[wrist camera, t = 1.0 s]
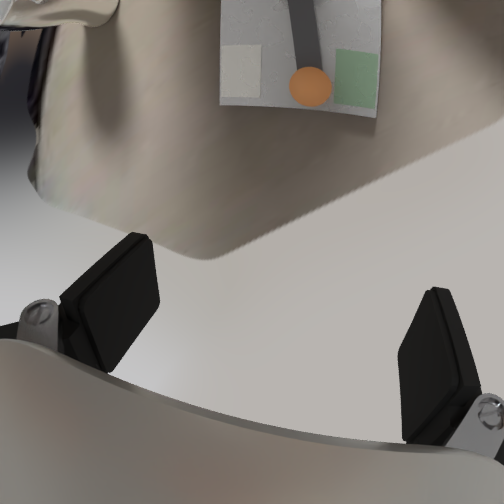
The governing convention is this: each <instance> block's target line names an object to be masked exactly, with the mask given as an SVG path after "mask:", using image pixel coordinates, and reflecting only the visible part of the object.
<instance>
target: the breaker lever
mask: <svg viewBox="0 0 504 504" xmlns="http://www.w3.org/2000/svg"><path fill="white" fill-rule="evenodd" d="M287 1H288V7H289V14H290V21H291V28H292V35H293V43H294V51H295V59H296V67H297V71H296V72H295V73H294V74H293V75H292V77H291V79H290V82H289V90H290V93H291V95H292V97H293V98H294V99H295V100H296V101H297V102H298V103H300V104H301V105H304V106H308V107H315V106H318V105H321V104H323V103H324V102H325V101H326V100H327V99H328V98H329V96H330V94H331V91H332V84H331V81H330V79H329V77H328V76H327V75H326V74H325V73H324V72H323V65H322V56H321V48H320V40H319V33H318V25H317V18H316V12H315V5H314V0H287Z"/></svg>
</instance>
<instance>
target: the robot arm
mask: <svg viewBox="0 0 504 504" xmlns="http://www.w3.org/2000/svg"><path fill="white" fill-rule="evenodd" d="M59 297H60V300H61V303H60V305H57V303H56V302H55V301H53V300H50V299H41V300H37V301H34V302H32V303H31V304H29V305H28V306H27V307H25V308H24V310H23V311H22V313H21V315H20V319H19V322H15V323H11V324H7V325H3V326H0V504H504V401H503V400H502V399H501V398H500V397H498V396H497V395H494V394H490V393H487V394H486V393H485V394H482V391H481V384H480V381H479V377H478V373H477V369H476V366H475V362H474V359H473V356H472V352H471V349H470V346H469V343H468V340H467V337H466V334H465V331H464V328H463V325H462V322H461V319H460V316H459V313H458V311H457V309H456V305H455V303H454V300H453V298H452V295H451V292H450V291H449V289H445V288H439V287H432V289H431V290H427V291H426V292H425V294H424V296H423V298H422V301H421V303H420V305H419V308H418V310H417V312H416V314H415V316H414V319H413V321H412V323H411V325H410V327H409V329H408V331H407V333H406V336H405V338H404V340H403V342H402V344H401V346H400V348H399V351H398V368H399V379H400V395H401V416H402V439H403V441H406V444H400V443H387V442H376V441H367V440H357V439H348V438H340V437H332V436H326V435H318V434H313V433H307V432H301V431H296V430H290V429H286V428H281V427H276V426H271V425H266V424H262V423H257V422H253V421H249V420H245V419H241V418H237V417H233V416H229V415H225V414H222V413H218V412H215V411H210V410H208V409H204V408H201V407H198V406H194V405H191V404H188V403H185V402H182V401H179V400H175V399H173V398H169V397H166V396H164V395H161V394H158V393H155V392H152V391H149V390H147V389H144V388H141V387H139V386H136V385H134V384H131V383H128V382H126V381H123V380H121V379H119V378H116V377H114V376H111V375H109V374H107V373H108V372H109V373H110V372H112V371H113V370H114V369H115V367H116V366H117V364H118V363H119V362H120V360H121V359H122V357H123V356H124V355H125V353H126V352H127V350H128V349H129V348H130V346H131V345H132V343H133V342H134V341H135V339H136V338H137V336H138V335H139V334H140V332H141V331H142V330H143V328H144V327H145V325H146V324H147V323H148V321H149V320H150V318H151V317H152V316H153V315H154V313H155V312H156V310H157V309H158V307H159V304H160V297H159V290H158V283H157V276H156V269H155V260H154V252H153V244H152V241H151V240H150V239H149V237H148V236H147V235H146V234H141V233H135V232H131V233H130V234H128V235H127V236H126V237H125V238H124V239H123V240H121V241H120V242H119V243H118V244H117V245H115V246H114V247H113V248H112V249H111V250H110V251H108V252H107V253H106V254H105V255H104V256H103V257H102V258H101V259H100V260H98V261H97V262H96V263H95V264H94V265H93V266H91V268H89V269H88V270H87V271H86V272H85V273H84V274H83V275H82V276H80V277H79V278H78V279H77V280H76V281H75V282H74V283H73V284H72V285H71V286H70V287H69V288H68V289H67V290H65V291H64V292H63V293H62V294H61V295H60V296H59Z"/></svg>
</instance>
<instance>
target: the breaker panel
mask: <svg viewBox="0 0 504 504" xmlns="http://www.w3.org/2000/svg"><path fill="white" fill-rule="evenodd" d="M314 5H315V12H316V18H317V25H318V33H319V40H320V48H321V56H322V65H323V72H324V73H325V74H326V75H327V76H328V77H329V79H330V81H331V84H332V91H331V94H330V96H329V98H328V99H327V100H326V101H325V102H324V103H323V104H321V105H318V106H315V107H308V106H304V105H301V104H300V103H298V102H297V101H296V100H295V99H294V98H293V97H292V95H291V93H290V90H289V82H290V79H291V77H292V75H293V74H294V73H295V72H296V71H297V67H296V59H295V51H294V43H293V35H292V28H291V21H290V14H289V7H288V1H287V0H221V25H220V105H240V106H267V107H284V108H298V109H309V110H319V111H328V112H337V113H345V114H352V115H359V116H365V117H372V118H376V113H377V102H378V89H379V73H380V52H381V0H314Z"/></svg>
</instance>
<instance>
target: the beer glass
mask: <svg viewBox="0 0 504 504" xmlns="http://www.w3.org/2000/svg"><path fill="white" fill-rule="evenodd" d="M118 2H119V0H0V31H26V30H36V29H41V28H47V27H51V26H56V25H61V24H67V23H79V24H82V25H85V26H88V27H98V26H101V25H103V24H104V23H106V22H107V21H108V20H109V19H110V18H111V17H112V15H113V14H114V12H115V11H116V9H117V6H118Z"/></svg>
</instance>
